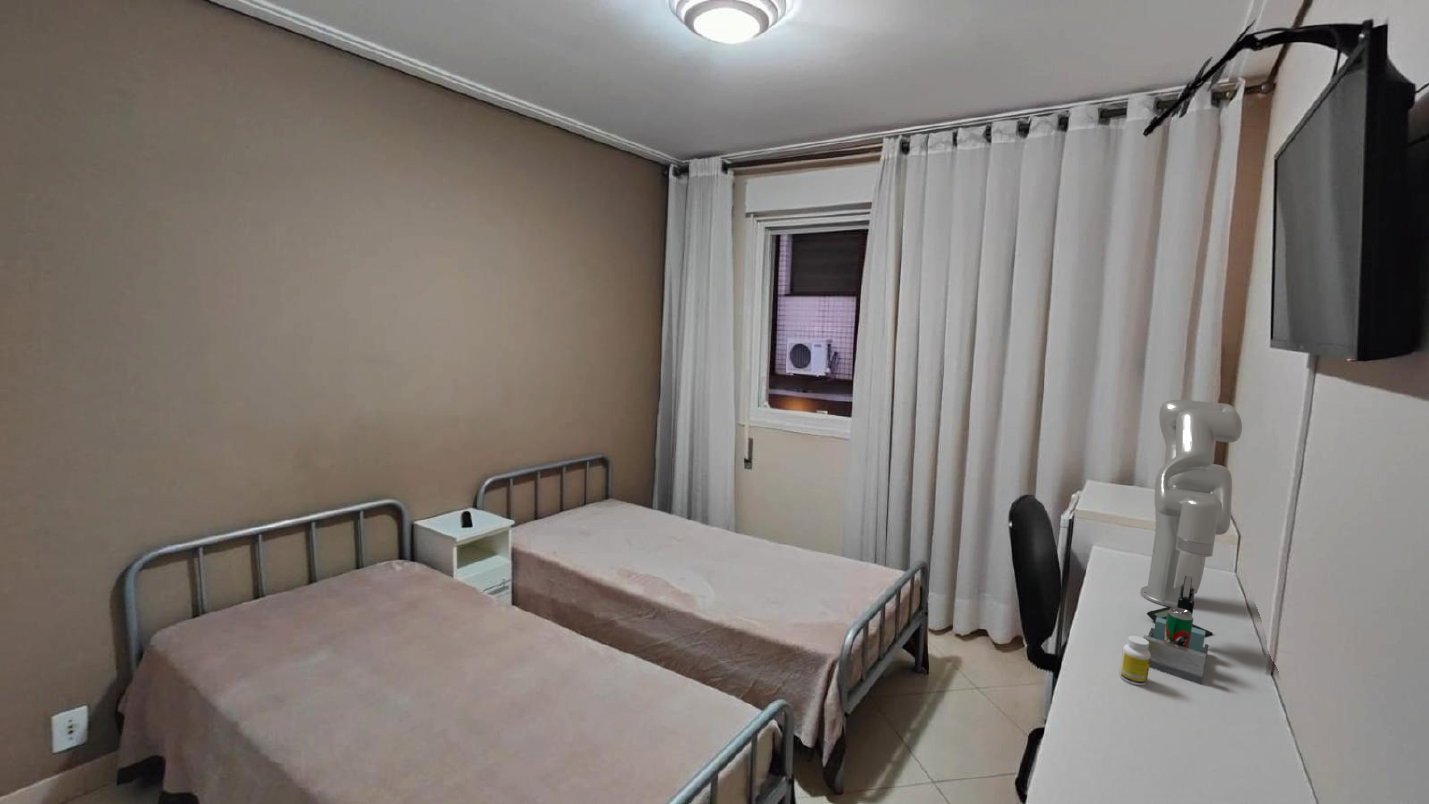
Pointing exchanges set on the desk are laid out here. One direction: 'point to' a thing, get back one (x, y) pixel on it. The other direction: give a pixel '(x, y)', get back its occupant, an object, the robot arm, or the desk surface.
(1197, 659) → the grey tray
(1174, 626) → the soda can
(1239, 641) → the desk surface
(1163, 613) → the calculator
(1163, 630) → the block
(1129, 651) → the supplement bottle
